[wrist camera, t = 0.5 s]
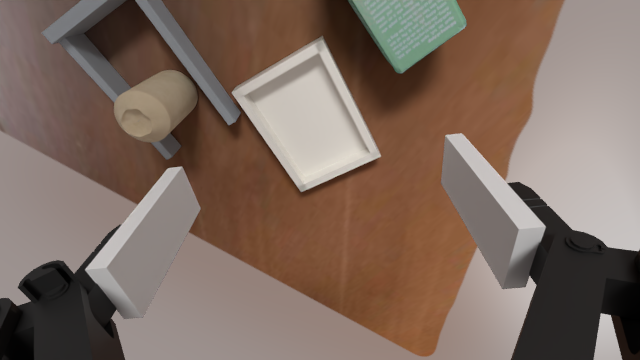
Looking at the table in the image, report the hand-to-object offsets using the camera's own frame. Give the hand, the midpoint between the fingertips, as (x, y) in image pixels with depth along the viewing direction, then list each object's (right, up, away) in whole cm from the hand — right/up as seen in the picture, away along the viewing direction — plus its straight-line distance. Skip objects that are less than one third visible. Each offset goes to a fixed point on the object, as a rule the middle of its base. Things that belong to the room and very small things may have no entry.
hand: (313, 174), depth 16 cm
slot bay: (-18, +12, +22) cm, 31 cm away
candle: (-18, +11, +23) cm, 31 cm away
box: (+7, +20, +17) cm, 27 cm away
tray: (-1, +8, +25) cm, 26 cm away
